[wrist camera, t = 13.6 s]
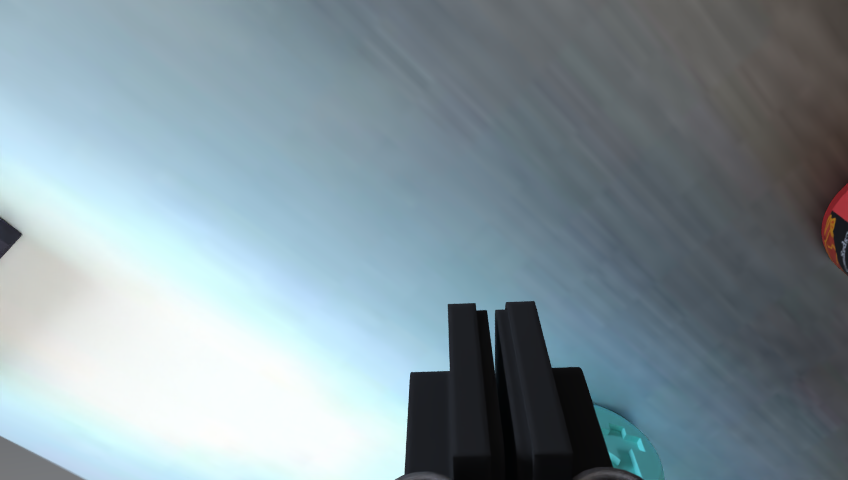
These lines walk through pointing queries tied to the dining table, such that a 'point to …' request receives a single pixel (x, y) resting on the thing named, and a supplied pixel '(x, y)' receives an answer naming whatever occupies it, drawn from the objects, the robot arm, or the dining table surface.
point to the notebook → (7, 237)
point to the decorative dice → (628, 446)
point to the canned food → (837, 230)
